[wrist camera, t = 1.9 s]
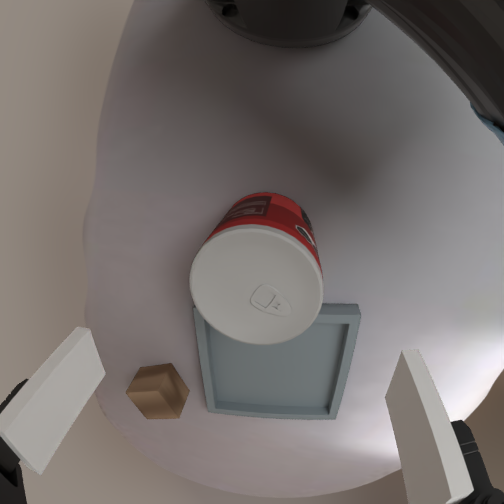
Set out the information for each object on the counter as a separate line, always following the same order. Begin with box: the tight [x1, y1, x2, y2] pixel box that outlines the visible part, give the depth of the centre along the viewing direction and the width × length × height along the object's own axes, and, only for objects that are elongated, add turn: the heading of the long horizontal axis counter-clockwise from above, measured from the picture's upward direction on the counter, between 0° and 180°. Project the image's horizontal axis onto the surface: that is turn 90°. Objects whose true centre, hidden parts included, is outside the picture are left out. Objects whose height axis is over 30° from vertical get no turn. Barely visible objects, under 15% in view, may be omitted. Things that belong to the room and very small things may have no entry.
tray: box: [193, 303, 361, 420], centre depth 32 cm, size 16×16×2 cm
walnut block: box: [126, 363, 190, 419], centre depth 34 cm, size 5×5×5 cm
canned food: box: [189, 192, 324, 345], centre depth 23 cm, size 8×8×11 cm
